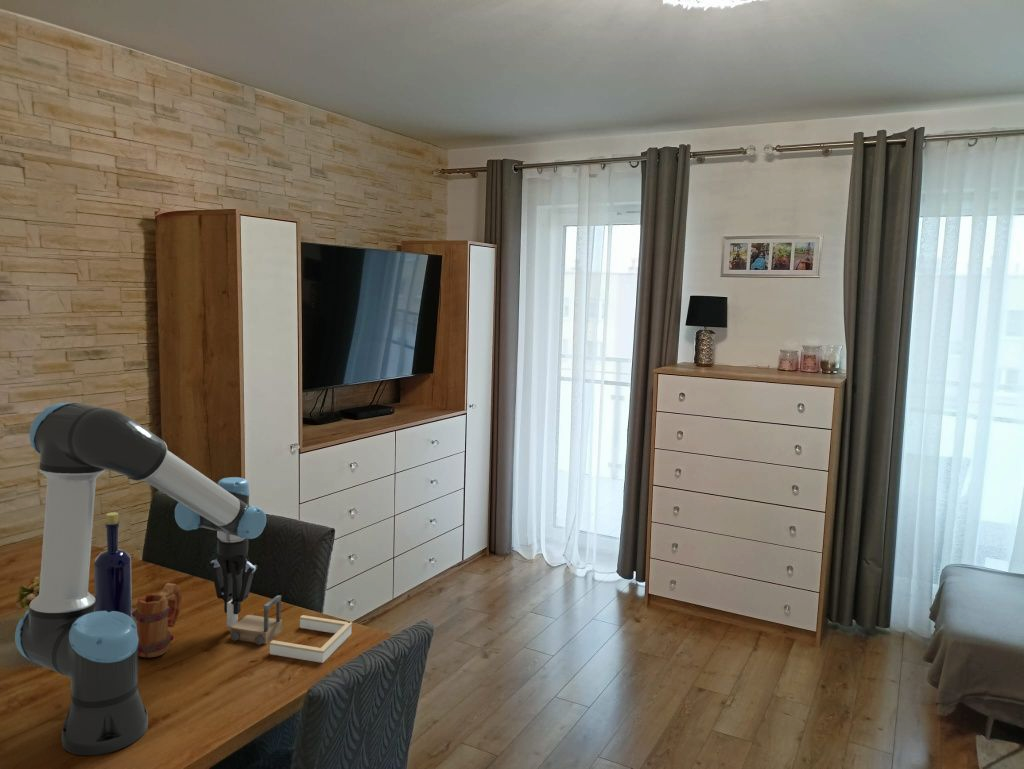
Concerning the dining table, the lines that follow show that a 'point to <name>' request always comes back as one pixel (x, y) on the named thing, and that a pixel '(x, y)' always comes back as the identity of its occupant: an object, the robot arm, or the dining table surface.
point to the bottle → (113, 573)
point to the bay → (309, 652)
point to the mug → (157, 620)
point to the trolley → (259, 625)
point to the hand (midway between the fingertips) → (232, 624)
